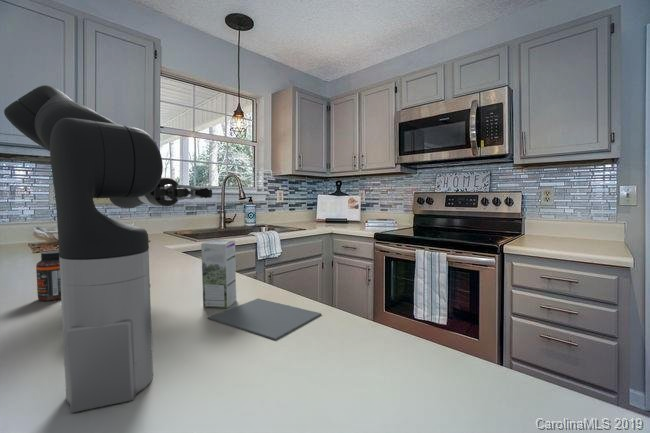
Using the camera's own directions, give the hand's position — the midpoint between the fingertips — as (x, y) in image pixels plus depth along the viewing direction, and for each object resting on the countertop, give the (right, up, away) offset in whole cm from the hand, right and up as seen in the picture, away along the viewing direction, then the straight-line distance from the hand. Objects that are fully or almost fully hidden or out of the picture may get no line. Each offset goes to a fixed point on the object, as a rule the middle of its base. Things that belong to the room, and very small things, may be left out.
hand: (195, 193), depth 76 cm
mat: (+19, -26, -11) cm, 34 cm away
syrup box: (+7, -26, -4) cm, 27 cm away
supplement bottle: (-35, -26, +1) cm, 43 cm away
